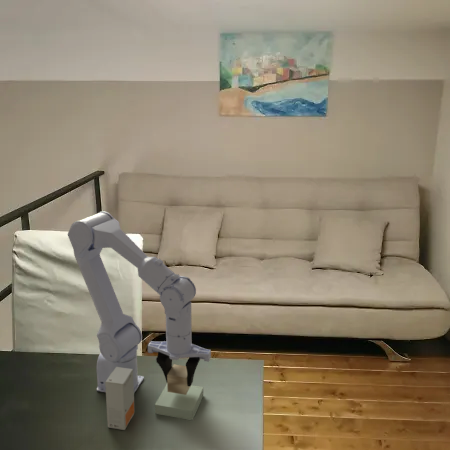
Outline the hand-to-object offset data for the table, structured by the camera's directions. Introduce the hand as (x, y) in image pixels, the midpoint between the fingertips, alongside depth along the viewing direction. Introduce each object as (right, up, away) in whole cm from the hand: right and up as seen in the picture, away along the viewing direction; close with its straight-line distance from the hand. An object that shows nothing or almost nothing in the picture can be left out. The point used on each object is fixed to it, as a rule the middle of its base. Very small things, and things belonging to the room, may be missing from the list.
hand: (179, 382), depth 117 cm
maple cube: (0, -1, +1) cm, 2 cm away
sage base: (0, -6, +2) cm, 6 cm away
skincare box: (-13, -8, -3) cm, 15 cm away
